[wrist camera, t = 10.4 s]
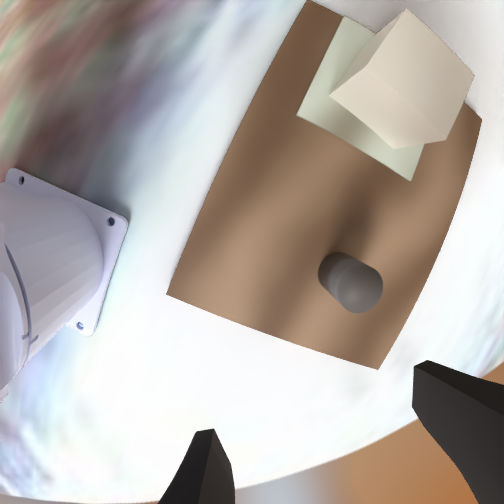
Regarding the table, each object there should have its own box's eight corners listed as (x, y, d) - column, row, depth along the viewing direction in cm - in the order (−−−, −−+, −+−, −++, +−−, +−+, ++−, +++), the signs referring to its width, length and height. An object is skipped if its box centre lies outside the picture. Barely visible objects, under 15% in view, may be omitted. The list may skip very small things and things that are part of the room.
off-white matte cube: (394, 149, 17) (445, 140, 12) (328, 95, 16) (366, 66, 11) (425, 93, 16) (474, 75, 11) (367, 42, 15) (406, 8, 10)
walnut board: (168, 289, 18) (154, 318, 14) (304, 5, 15) (323, -31, 11) (373, 364, 21) (400, 396, 16) (475, 120, 18) (514, 113, 14)
